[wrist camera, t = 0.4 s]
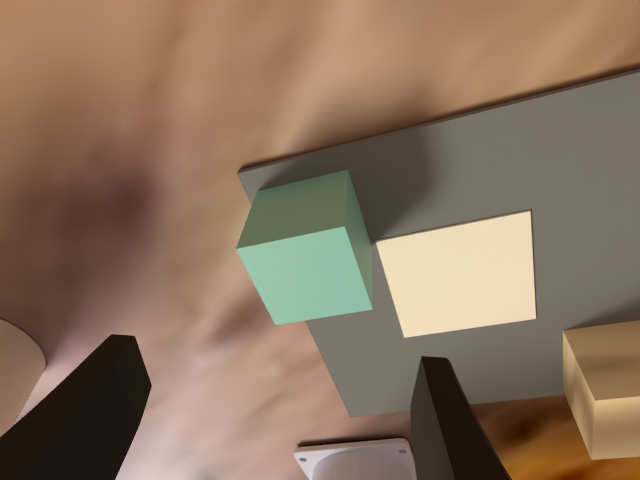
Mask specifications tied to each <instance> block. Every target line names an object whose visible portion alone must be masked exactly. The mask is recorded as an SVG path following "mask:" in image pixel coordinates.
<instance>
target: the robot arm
mask: <svg viewBox="0 0 640 480" xmlns="http://www.w3.org/2000/svg"><path fill="white" fill-rule="evenodd" d="M151 386H152V385H151V382H150V379H149V376H148V373H147V370H146V367H145V364H144V362H143V359H142V356H141V353H140V350H139V347H138V344H137V341H136V338H135V336H128V335H113V334H111V335H110V336H109V337H108V338H107V339H106V340H105V341H104V342H103V343H102V344H101V345H100V346H98V347H97V348H96V349H95V350H94V351H93V352H92V353H91V354H90V355H89V356H88V357H87V358H86V359H85V360H84V361H83V362H82V363H81V364H80V365H79V366H78V367H77V368H76V369H75V370H74V371H73V372H72V373H70V374H69V375H68V376H67V377H66V378H65V379H64V380H63V381H62V382H61V383H60V384H59V385H58V386H57V387H56V388H55V389H54V390H52V391H51V392H50V393H49V394H48V395H47V396H46V397H45V398H44V399H43V400H42V401H41V402H40V403H38V404H37V405H36V406H35V407H34V408H33V409H32V410H31V411H30V412H29V413H27V414H26V415H25V416H24V417H23V418H22V419H21V420H19V421H18V422H17V423H16V424H15V425H14V426H12V427H11V428H10V429H9V430H8V431H7V432H6V433H4V434H3V435H2V436H1V437H0V480H115V479H116V476H117V474H118V472H119V470H120V467H121V465H122V463H123V461H124V459H125V456H126V454H127V452H128V450H129V448H130V445H131V443H132V441H133V439H134V436H135V434H136V432H137V429H138V427H139V425H140V422H141V419H142V416H143V413H144V410H145V406H146V403H147V400H148V396H149V393H150V390H151ZM410 407H411V432H412V449H413V454H412V451H411V449H410V446H409V443H408V441H407V440H406V439H403V438H395V439H384V440H373V441H362V442H351V443H340V444H329V445H318V446H307V447H298V448H296V449H295V450H294V457H295V458H296V460H297V461H298V463H299V464H300V466H301V468H302V469H303V471H304V472H305V474H306V475H307V477H308V478H309V480H512V479H511V478H510V476H509V474H508V473H507V471H506V470H505V468H504V466H503V465H502V463H501V461H500V459H499V458H498V456H497V454H496V453H495V451H494V449H493V447H492V445H491V444H490V442H489V440H488V438H487V436H486V435H485V433H484V431H483V429H482V427H481V426H480V424H479V422H478V420H477V418H476V416H475V414H474V412H473V410H472V408H471V406H470V404H469V402H468V400H467V398H466V396H465V394H464V392H463V390H462V388H461V385H460V383H459V381H458V379H457V376H456V374H455V372H454V369H453V367H452V365H451V362H450V361H449V360H448V359H447V358H444V357H429V356H421V359H420V364H419V369H418V373H417V378H416V382H415V387H414V391H413V396H412V400H411V405H410ZM413 456H414V457H413Z"/></svg>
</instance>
